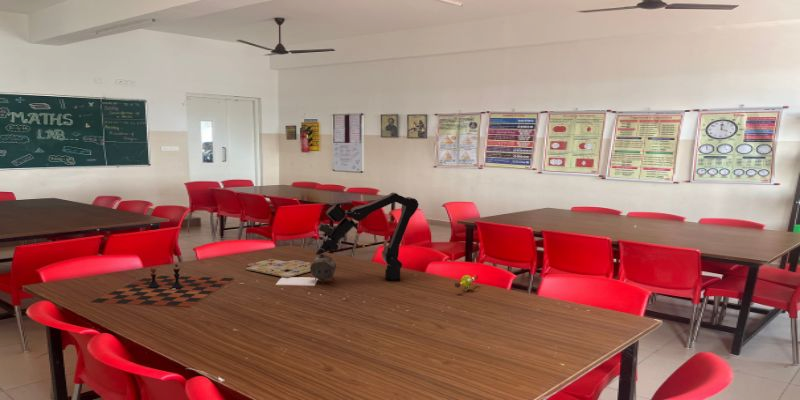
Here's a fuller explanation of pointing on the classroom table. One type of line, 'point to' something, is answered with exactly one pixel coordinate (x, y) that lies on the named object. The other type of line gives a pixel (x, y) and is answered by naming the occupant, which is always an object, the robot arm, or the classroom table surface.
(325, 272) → the alarm clock
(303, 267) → the alphabet tiles
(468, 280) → the toy figure
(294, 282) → the white sheet of paper
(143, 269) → the classroom table surface
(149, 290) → the chessboard
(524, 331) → the classroom table surface
